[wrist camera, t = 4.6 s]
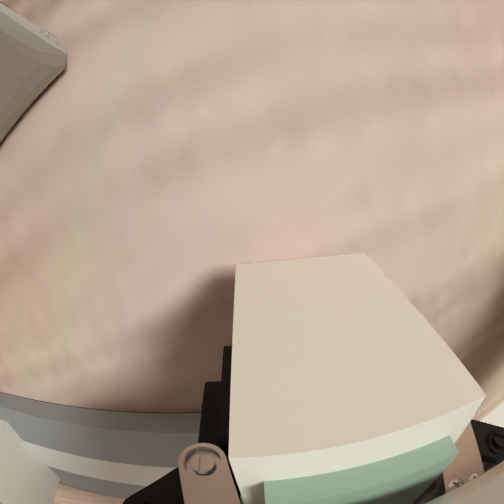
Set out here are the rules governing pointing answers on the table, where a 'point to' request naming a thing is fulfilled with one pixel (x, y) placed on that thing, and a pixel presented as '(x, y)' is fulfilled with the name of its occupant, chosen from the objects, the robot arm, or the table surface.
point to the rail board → (102, 443)
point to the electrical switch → (24, 64)
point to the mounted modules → (23, 472)
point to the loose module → (339, 386)
